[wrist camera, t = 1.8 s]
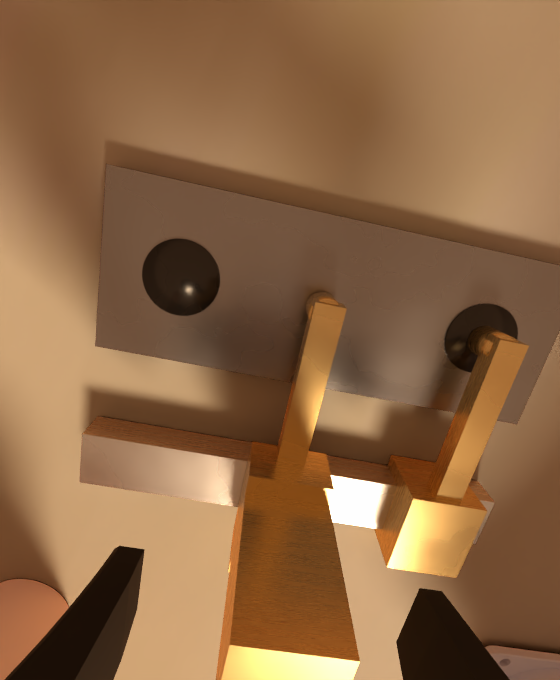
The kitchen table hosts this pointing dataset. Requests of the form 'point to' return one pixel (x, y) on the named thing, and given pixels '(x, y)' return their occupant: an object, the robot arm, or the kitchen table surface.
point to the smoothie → (25, 619)
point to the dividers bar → (339, 470)
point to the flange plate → (310, 292)
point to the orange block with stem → (290, 540)
